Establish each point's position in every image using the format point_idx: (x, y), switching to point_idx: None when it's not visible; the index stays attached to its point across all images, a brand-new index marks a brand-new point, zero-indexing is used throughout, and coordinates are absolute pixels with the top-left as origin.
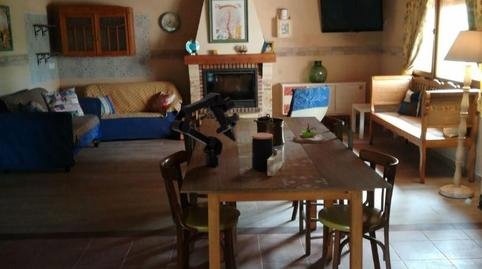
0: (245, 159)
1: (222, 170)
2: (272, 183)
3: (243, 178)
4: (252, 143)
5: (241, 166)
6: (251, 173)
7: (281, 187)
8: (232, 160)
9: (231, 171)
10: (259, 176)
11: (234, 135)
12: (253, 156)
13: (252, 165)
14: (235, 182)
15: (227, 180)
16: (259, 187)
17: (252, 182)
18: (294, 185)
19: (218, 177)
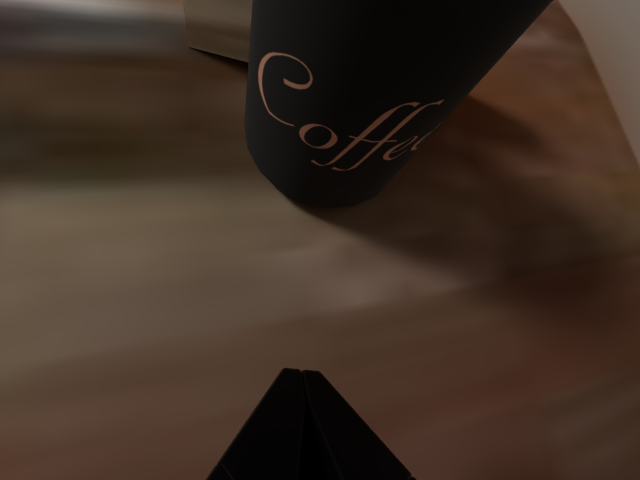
0: (13, 307)
1: (422, 455)
2: (557, 95)
3: (541, 249)
4: (487, 51)
5: (278, 307)
6: (434, 209)
7: (590, 61)
8: (56, 450)
9: (428, 365)
10: (476, 158)
11: (274, 441)
12: (422, 142)
13: (366, 195)
14: (620, 287)
15: (610, 347)
16: (631, 154)
17: (582, 191)
18: (546, 9)
19: (583, 432)
